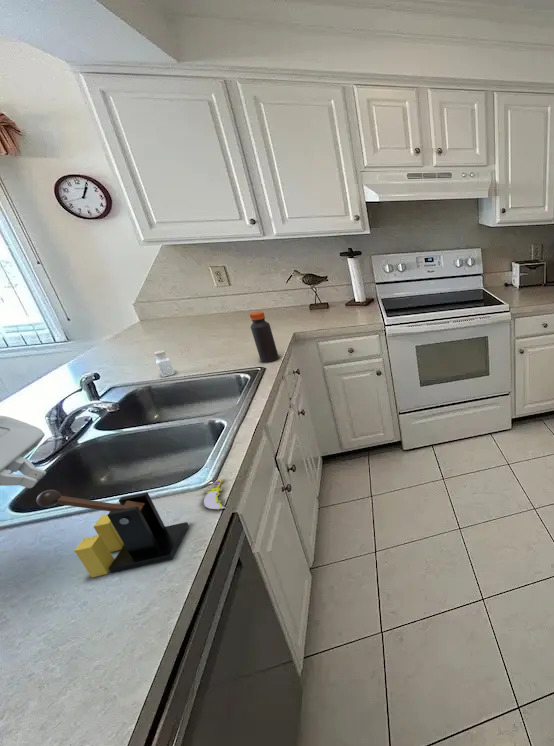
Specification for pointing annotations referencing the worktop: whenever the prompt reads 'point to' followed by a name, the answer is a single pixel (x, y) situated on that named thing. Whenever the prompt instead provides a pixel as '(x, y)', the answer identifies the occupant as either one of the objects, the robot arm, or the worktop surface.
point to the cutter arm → (81, 502)
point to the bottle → (263, 337)
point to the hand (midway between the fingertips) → (39, 480)
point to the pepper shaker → (164, 363)
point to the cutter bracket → (143, 534)
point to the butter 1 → (108, 534)
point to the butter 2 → (95, 556)
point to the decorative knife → (213, 497)
